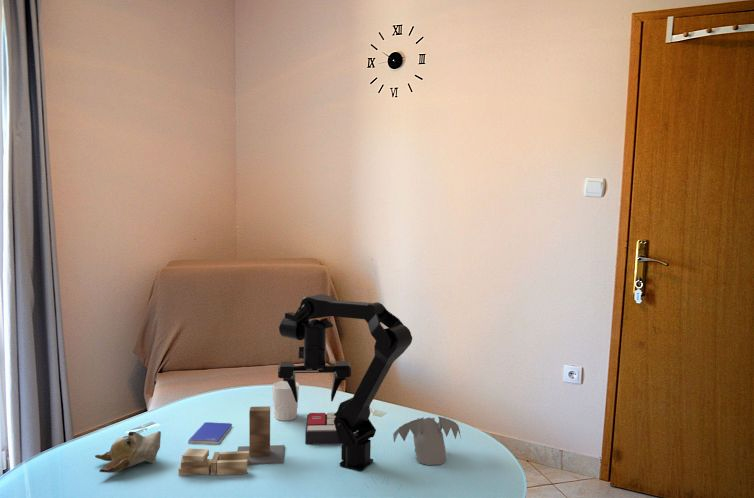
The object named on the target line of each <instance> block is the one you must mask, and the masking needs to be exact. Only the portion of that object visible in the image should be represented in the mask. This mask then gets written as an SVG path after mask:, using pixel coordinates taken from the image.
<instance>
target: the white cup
mask: <svg viewBox="0 0 754 498" xmlns="http://www.w3.org/2000/svg"><path fill="white" fill-rule="evenodd" d="M296 387H297V402H296V401H295V398H294V395H293V393H292V390H291V388H290V386H289V384H288V382H287V381H283V380H280V381H276V382H274V383H273V384H272V401H273V402H272V403H273V405H272V406H273V416H274V417H273V418H275V420H276V421H277V420H278V421H281V422H283V421H284V422H286V421H288V422H289V421H292V420H293V421H294V420H295V419H297V417H298V407H299V394H300V393H299V390H300V383H299V382H297V381H296Z"/></svg>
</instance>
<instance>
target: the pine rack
mask: <svg viewBox="0 0 754 498" xmlns="http://www.w3.org/2000/svg"><path fill="white" fill-rule="evenodd" d="M211 459H212V461H211V469H210V475H211V476H221V475H222V476H223V475H224V476H226V475H247V474H248V465H250V464H249V451H237V450H236V451H214V453H213V456H212V458H211Z"/></svg>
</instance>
